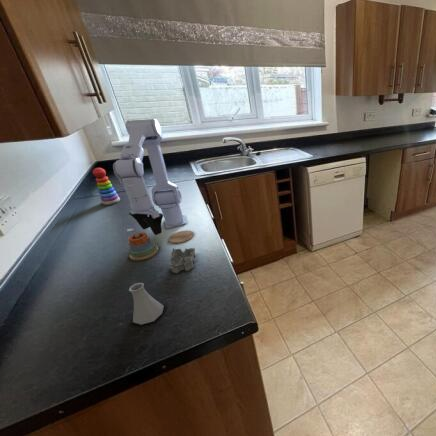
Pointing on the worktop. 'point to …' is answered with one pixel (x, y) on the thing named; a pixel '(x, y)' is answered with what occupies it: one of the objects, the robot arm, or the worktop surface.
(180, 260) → the egg carton
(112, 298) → the worktop surface
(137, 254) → the ring stack
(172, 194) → the robot arm
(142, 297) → the flask
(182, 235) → the cork coaster
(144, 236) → the orange ring
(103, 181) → the stacking toy
